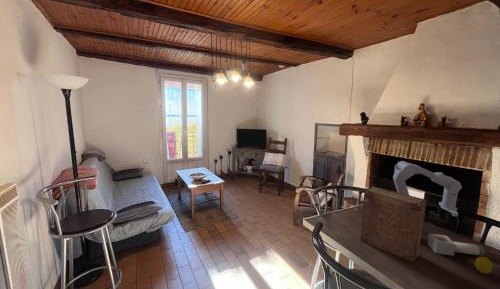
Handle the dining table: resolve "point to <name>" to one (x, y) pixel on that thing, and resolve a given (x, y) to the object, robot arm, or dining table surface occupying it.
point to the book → (393, 222)
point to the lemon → (483, 265)
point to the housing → (441, 245)
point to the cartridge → (469, 249)
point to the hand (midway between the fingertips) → (445, 222)
